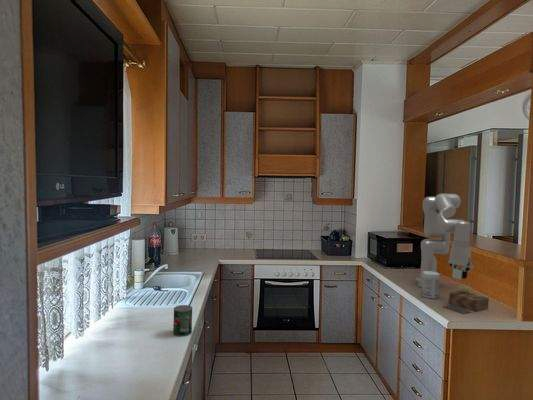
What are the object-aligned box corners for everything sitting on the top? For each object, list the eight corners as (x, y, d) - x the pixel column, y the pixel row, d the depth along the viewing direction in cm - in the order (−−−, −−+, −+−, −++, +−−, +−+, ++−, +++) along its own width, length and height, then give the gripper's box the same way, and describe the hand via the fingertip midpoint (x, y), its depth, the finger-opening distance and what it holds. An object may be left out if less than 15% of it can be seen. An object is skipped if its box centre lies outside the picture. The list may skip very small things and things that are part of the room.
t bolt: (457, 291, 231) (457, 285, 230) (463, 289, 234) (463, 284, 234) (469, 294, 225) (469, 289, 225) (474, 292, 228) (475, 287, 228)
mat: (443, 307, 220) (443, 306, 220) (450, 305, 223) (450, 304, 223) (463, 314, 210) (463, 313, 210) (471, 312, 213) (471, 311, 213)
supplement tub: (433, 294, 244) (435, 270, 243) (441, 299, 235) (443, 274, 234) (418, 294, 244) (419, 270, 243) (425, 299, 234) (427, 274, 233)
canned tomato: (169, 333, 171) (169, 308, 170) (183, 327, 177) (184, 303, 177) (181, 338, 166) (181, 312, 166) (195, 332, 172) (196, 308, 172)
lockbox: (448, 303, 228) (449, 292, 227) (460, 300, 234) (461, 290, 234) (476, 311, 214) (476, 300, 214) (488, 308, 221) (488, 297, 220)
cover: (452, 277, 216) (452, 266, 216) (457, 276, 219) (458, 266, 218) (460, 279, 212) (461, 268, 212) (466, 278, 215) (466, 267, 214)
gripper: (442, 242, 219) (440, 274, 220) (472, 247, 205) (470, 281, 206) (450, 241, 223) (448, 273, 224) (480, 246, 209) (478, 280, 210)
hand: (459, 277), depth 215 cm, fingers closed on cover, 5 cm apart
